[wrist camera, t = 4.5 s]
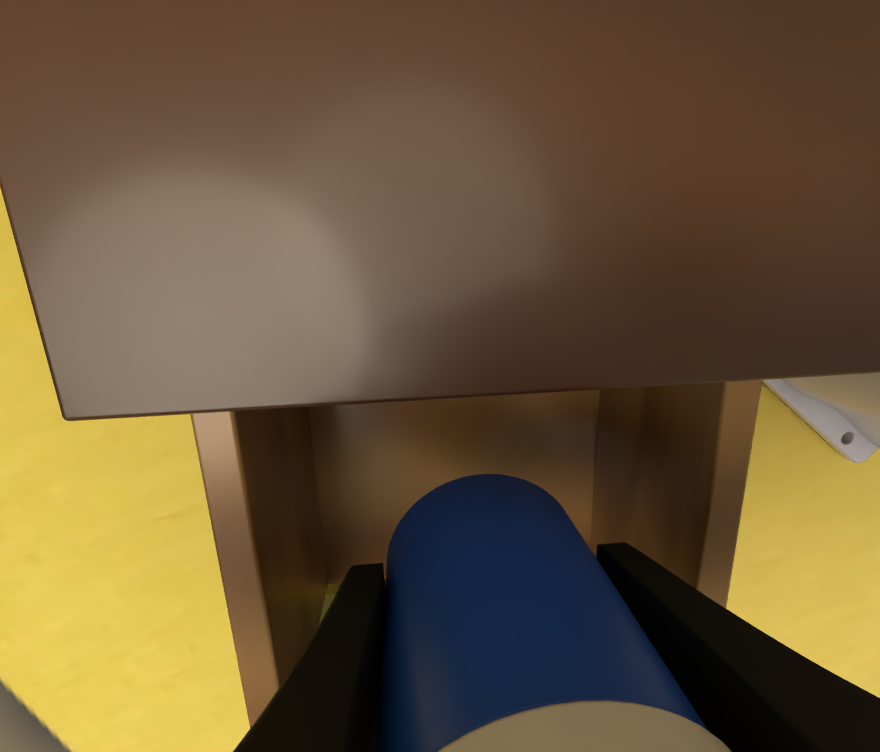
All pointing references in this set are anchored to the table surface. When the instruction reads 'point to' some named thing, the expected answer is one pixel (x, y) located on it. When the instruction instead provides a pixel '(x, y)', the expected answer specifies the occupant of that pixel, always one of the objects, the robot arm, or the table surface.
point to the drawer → (451, 457)
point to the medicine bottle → (516, 636)
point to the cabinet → (439, 196)
